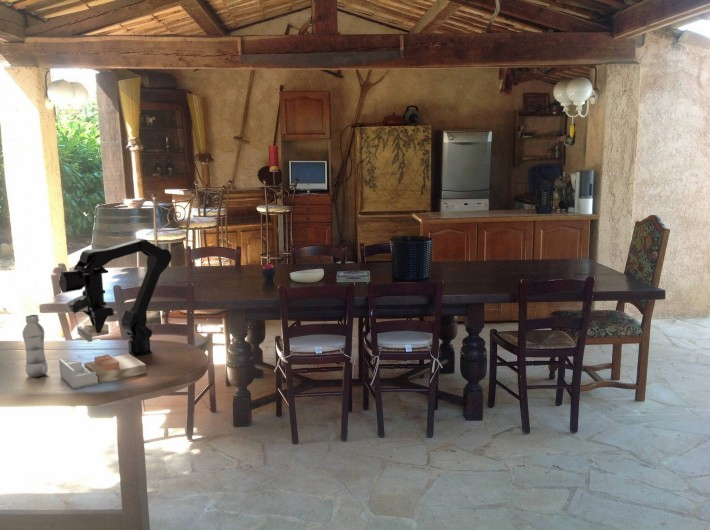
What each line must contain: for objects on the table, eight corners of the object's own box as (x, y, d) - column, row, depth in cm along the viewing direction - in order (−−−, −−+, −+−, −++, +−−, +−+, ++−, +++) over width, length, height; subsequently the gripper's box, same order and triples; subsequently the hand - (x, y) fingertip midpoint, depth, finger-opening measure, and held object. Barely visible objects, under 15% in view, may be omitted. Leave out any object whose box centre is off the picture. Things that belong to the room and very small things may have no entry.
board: (129, 362, 221) (129, 353, 221) (145, 373, 211) (145, 364, 210) (84, 371, 212) (84, 363, 211) (99, 383, 201) (98, 374, 201)
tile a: (108, 360, 214) (108, 354, 214) (113, 363, 211) (113, 357, 210) (94, 363, 211) (94, 357, 211) (99, 366, 208) (99, 360, 208)
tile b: (114, 364, 210) (114, 358, 210) (119, 367, 207) (119, 361, 206) (100, 367, 207) (100, 361, 207) (105, 370, 204) (105, 364, 204)
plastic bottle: (25, 380, 204) (19, 319, 200) (27, 373, 210) (21, 314, 206) (48, 377, 206) (42, 317, 202) (48, 371, 212) (43, 312, 209)
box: (83, 372, 211) (82, 354, 210) (98, 384, 201) (96, 365, 200) (60, 377, 207) (59, 359, 206) (74, 389, 196) (72, 370, 195)
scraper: (102, 329, 226) (101, 319, 225) (113, 337, 217) (113, 327, 216) (77, 333, 221) (76, 323, 220) (88, 341, 211) (87, 331, 211)
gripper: (60, 286, 218) (64, 330, 221) (77, 296, 204) (81, 343, 207) (94, 281, 225) (97, 324, 228) (112, 290, 211) (116, 336, 214)
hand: (97, 332), depth 219 cm, fingers closed on scraper, 2 cm apart
